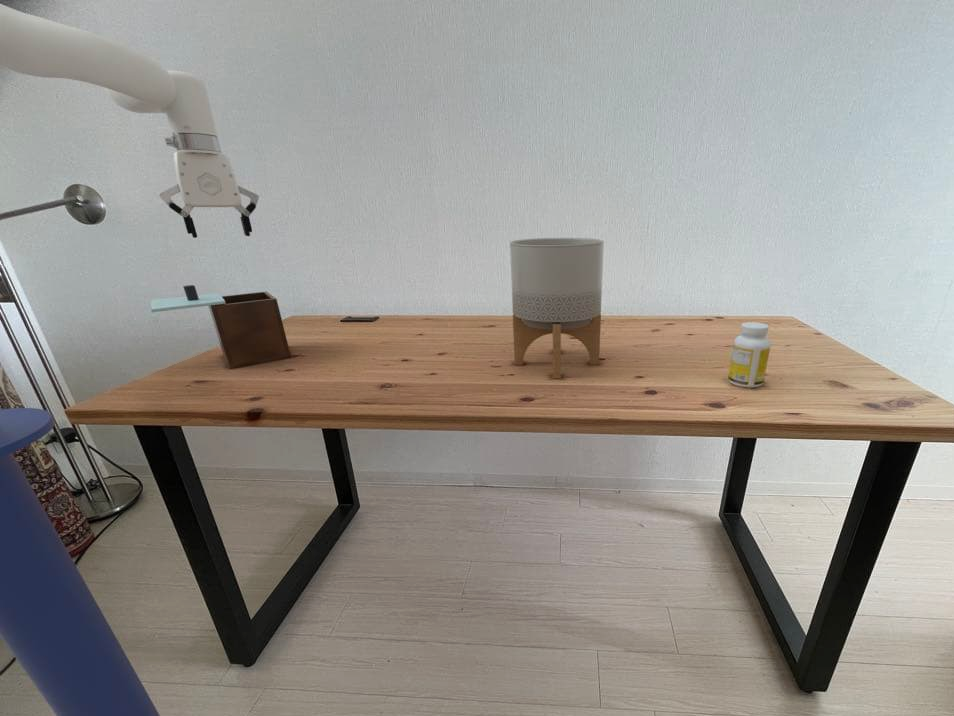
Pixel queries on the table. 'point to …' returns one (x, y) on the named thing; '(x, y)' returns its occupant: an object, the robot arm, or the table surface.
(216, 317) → the brown wooden box
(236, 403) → the table surface
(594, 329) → the planter
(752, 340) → the pill bottle
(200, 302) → the lid
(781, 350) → the table surface
